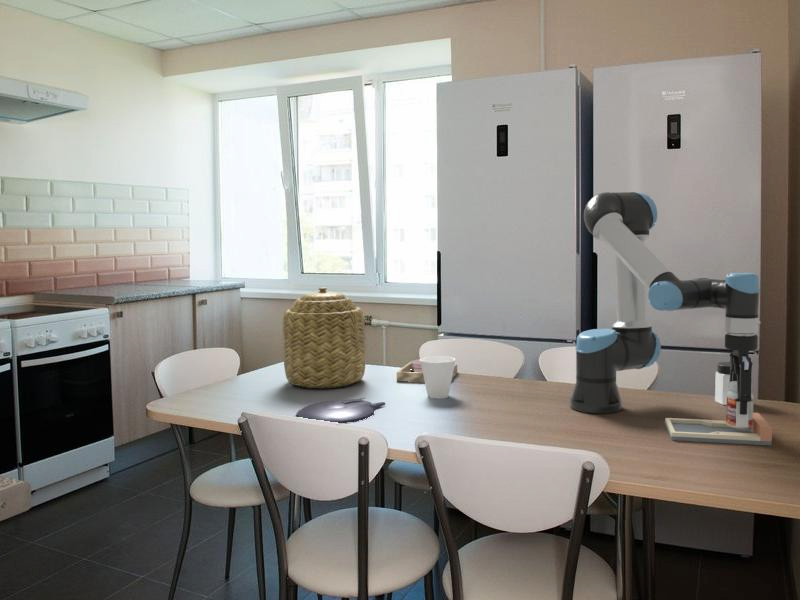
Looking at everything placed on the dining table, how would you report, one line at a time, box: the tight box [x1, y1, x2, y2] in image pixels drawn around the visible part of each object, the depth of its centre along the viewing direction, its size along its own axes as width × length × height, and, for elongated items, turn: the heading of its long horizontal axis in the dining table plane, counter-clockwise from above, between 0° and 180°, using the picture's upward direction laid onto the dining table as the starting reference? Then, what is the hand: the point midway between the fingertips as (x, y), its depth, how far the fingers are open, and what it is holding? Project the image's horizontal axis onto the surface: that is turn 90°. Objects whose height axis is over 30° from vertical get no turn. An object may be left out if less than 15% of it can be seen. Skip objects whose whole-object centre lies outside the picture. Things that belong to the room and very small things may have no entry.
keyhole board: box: [664, 412, 773, 446], centre depth 178 cm, size 23×14×4 cm, turn 75°
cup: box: [419, 355, 456, 400], centre depth 226 cm, size 12×12×12 cm
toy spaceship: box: [295, 397, 386, 424], centre depth 209 cm, size 28×24×3 cm
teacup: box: [410, 359, 422, 372], centre depth 257 cm, size 12×12×6 cm
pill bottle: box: [725, 381, 754, 429], centre depth 176 cm, size 6×6×11 cm
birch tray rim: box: [396, 361, 458, 384], centre depth 257 cm, size 19×19×4 cm
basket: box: [282, 286, 367, 389], centre depth 250 cm, size 30×30×35 cm
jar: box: [714, 361, 730, 406], centre depth 209 cm, size 9×8×12 cm
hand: (739, 422), depth 176 cm, fingers closed on pill bottle, 6 cm apart
